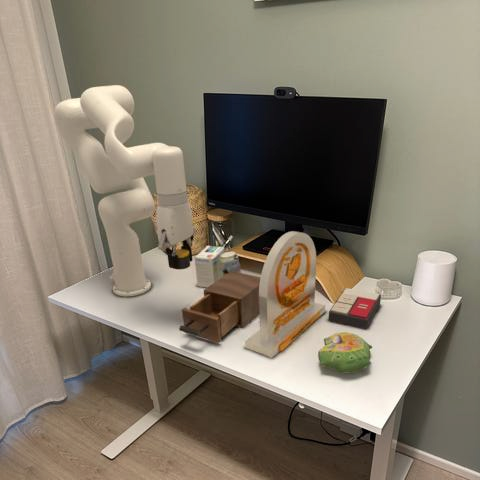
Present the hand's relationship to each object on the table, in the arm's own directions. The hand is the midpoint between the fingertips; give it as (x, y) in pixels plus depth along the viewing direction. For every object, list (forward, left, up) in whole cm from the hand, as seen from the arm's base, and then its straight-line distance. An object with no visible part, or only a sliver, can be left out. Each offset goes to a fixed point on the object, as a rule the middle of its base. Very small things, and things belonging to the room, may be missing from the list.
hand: (180, 263), depth 125 cm
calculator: (+42, +25, -18) cm, 52 cm away
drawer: (+11, -4, -17) cm, 20 cm away
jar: (0, 0, -1) cm, 1 cm away
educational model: (+48, +1, -18) cm, 51 cm away
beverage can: (+1, +23, -18) cm, 29 cm away
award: (+29, +8, -18) cm, 35 cm away
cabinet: (+11, +10, -17) cm, 23 cm away
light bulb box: (-8, +24, -18) cm, 31 cm away
